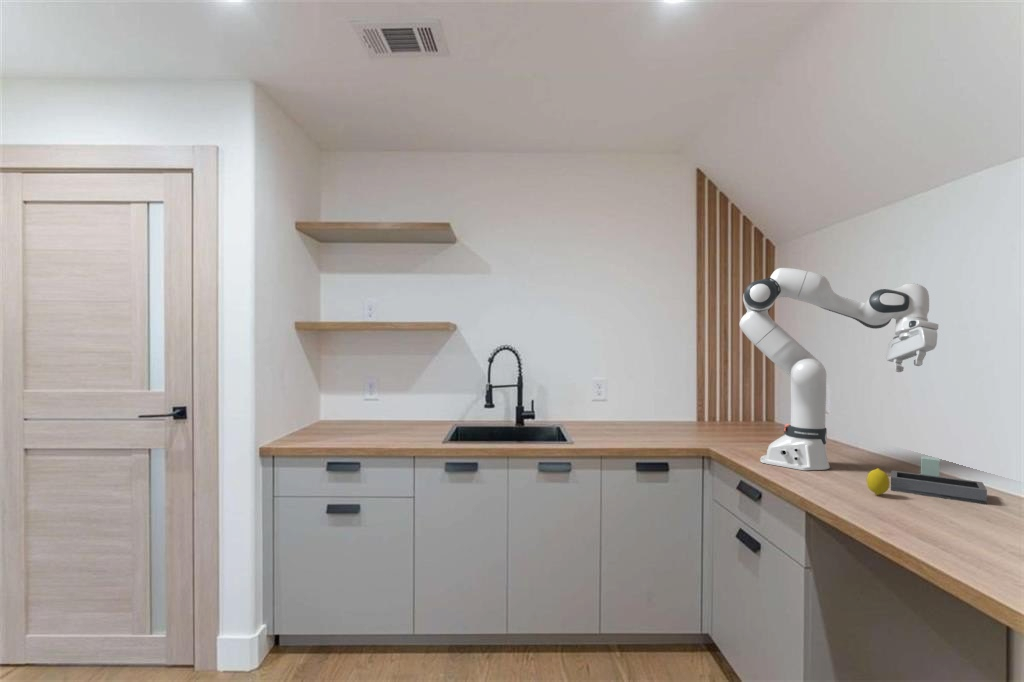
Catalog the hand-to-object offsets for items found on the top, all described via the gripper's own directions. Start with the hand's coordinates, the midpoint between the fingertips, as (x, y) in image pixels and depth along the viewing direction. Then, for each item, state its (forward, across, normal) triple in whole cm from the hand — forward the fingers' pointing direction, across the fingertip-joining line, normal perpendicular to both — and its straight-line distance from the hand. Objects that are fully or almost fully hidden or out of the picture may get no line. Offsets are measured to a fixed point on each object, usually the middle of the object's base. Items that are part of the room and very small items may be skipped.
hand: (908, 368), depth 176 cm
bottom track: (+39, +6, +7) cm, 40 cm away
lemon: (+45, +10, -12) cm, 48 cm away
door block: (+35, -5, +12) cm, 37 cm away
